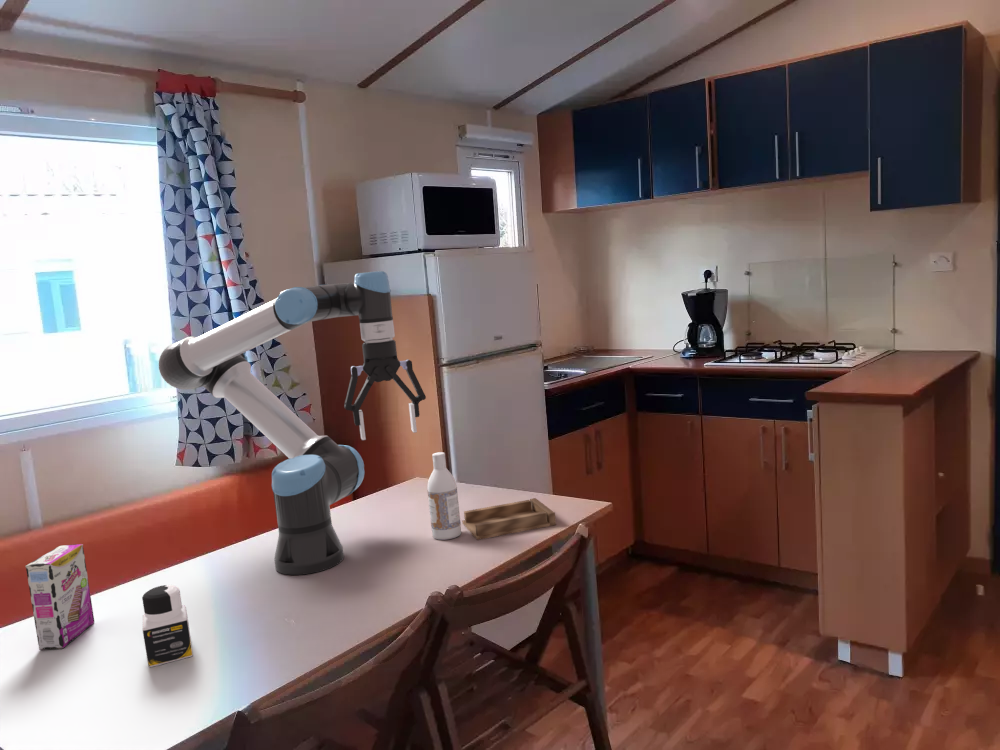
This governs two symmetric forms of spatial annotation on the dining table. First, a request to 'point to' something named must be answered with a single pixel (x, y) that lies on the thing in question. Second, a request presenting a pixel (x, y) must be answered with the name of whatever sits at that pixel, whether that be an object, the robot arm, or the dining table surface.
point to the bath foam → (443, 501)
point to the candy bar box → (60, 596)
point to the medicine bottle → (165, 626)
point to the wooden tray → (508, 518)
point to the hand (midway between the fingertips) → (389, 435)
